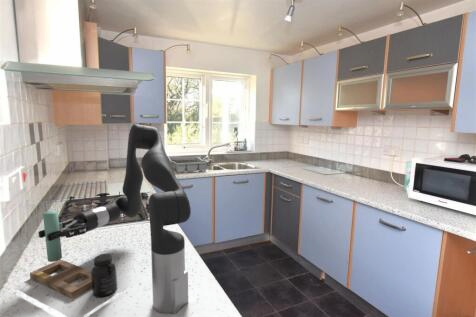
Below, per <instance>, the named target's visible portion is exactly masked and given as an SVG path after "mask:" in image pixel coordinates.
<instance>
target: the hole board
mask: <svg viewBox="0 0 476 317" xmlns="http://www.w3.org/2000/svg"><path fill="white" fill-rule="evenodd" d="M79 266H80V265H76V264H75V263H74V264H73V263H71V262H69V261H66V260H64V259H62V258H61V259H60V260H58V261H55V262H50V263H49V264H45V266H42V267H40V268H37V269H34V270H33V271H30V272H29V279H30V280H32V281H35V282H36V283H39V284H41V285H43V286H44V287H47V288H48V289H51V290H53V291H55V292H57V293H59V294H62V295H63V296H66V297H68V298H69V299H72V300H73V299H75V298H77V297H78V296H80V295H82V294H84V293H86V292H88V291H89V290H90V289H92V278H91V271H89V270H87V269H84V268H82V267H79ZM59 270H60V271H59ZM57 271H59V272H58V273H56V274H54V275H50V274H53V273H55V272H57ZM79 279H82V281H79V282H78V283H76V284H74V285H73V284H71V283H73V282H75V281H76V280H79Z"/></svg>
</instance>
